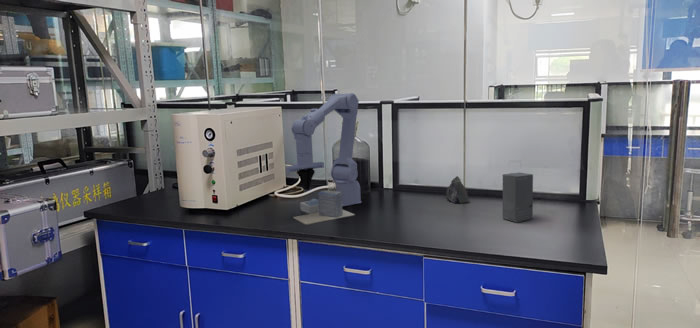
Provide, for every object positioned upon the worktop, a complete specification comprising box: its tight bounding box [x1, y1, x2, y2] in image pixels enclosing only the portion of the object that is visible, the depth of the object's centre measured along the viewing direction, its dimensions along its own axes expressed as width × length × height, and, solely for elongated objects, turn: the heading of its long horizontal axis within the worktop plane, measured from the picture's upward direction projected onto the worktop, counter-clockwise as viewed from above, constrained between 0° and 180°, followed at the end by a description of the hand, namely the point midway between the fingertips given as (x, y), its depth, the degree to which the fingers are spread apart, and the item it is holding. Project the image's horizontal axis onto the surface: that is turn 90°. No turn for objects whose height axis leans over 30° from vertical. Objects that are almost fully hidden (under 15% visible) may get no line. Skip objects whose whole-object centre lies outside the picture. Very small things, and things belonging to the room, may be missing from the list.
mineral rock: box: [445, 176, 469, 204], centre depth 198 cm, size 13×11×10 cm
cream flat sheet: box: [292, 208, 356, 226], centre depth 181 cm, size 20×11×1 cm, turn 120°
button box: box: [299, 200, 319, 214], centre depth 190 cm, size 8×8×3 cm
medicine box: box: [317, 189, 344, 217], centre depth 181 cm, size 8×4×9 cm, turn 59°
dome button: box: [306, 198, 318, 206], centre depth 190 cm, size 5×5×4 cm
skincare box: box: [502, 172, 534, 224], centre depth 168 cm, size 8×7×16 cm
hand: (306, 189), depth 180 cm, fingers closed
